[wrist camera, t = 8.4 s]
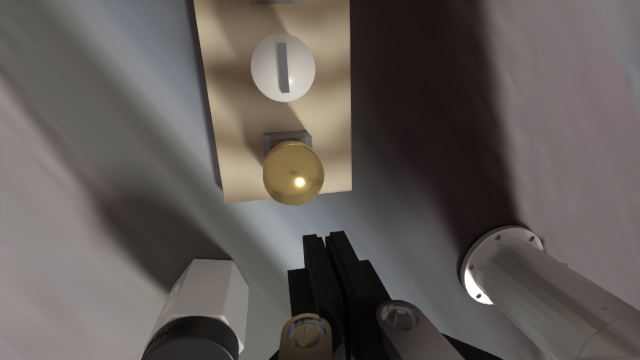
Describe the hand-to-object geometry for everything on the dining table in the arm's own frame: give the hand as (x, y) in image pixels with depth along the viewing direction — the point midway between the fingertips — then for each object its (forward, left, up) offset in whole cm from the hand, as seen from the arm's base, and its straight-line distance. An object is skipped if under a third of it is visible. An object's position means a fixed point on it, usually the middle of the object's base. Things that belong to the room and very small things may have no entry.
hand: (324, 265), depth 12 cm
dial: (+2, -8, -21) cm, 22 cm away
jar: (+8, +18, -23) cm, 30 cm away
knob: (0, 0, -20) cm, 20 cm away
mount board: (+2, -8, -23) cm, 24 cm away
